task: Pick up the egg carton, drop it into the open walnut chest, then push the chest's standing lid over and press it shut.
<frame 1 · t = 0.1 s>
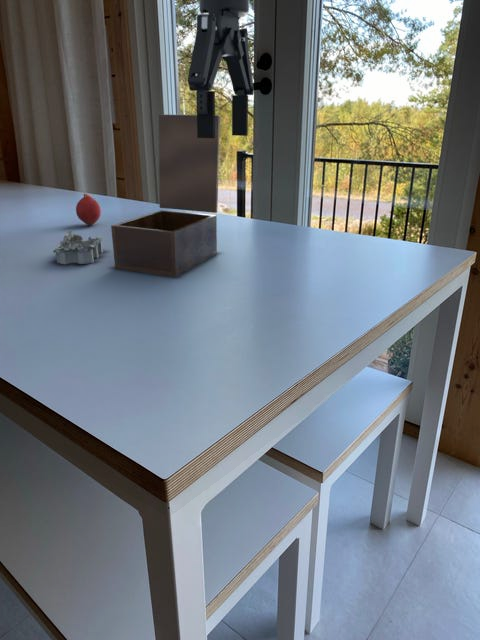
hand: (224, 137, 79), 22 cm above the table, tool pointing down, fingers open, 13 cm apart
egg carton: (81, 258, 92), on the table
chest: (168, 260, 90), on the table
chest lid: (188, 164, 92), point 17 cm above the table, hinge at 95.0°
onion: (90, 226, 118), on the table
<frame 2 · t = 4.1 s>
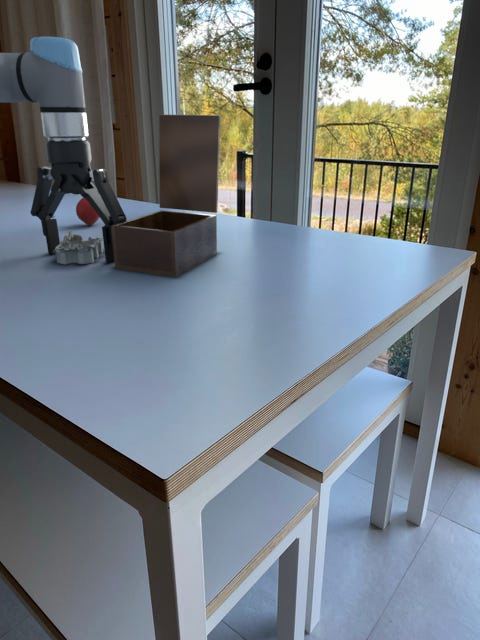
hand: (82, 256, 92), 0 cm above the table, tool pointing down, fingers open, 13 cm apart
chest lid: (188, 164, 92), point 17 cm above the table, hinge at 95.5°
everything else where it was.
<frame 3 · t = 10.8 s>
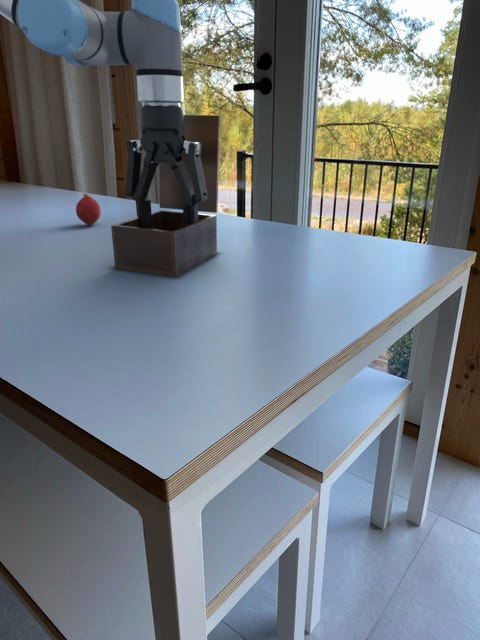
hand: (168, 237, 89), 4 cm above the table, tool pointing down, fingers closed on egg carton, 8 cm apart
egg carton: (169, 258, 90), point 1 cm above the table, touching chest, gripper
everything else where it was.
when the fingers open (6 cm above the table, at t = 14.2 s): egg carton stays where it is, resting on chest.
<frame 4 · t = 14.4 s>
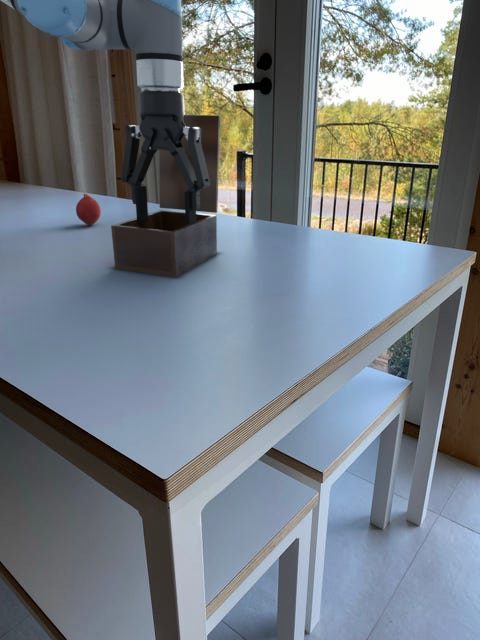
hand: (166, 224, 88), 7 cm above the table, tool pointing down, fingers open, 10 cm apart
egg carton: (168, 258, 90), point 1 cm above the table, touching chest
everything else where it was.
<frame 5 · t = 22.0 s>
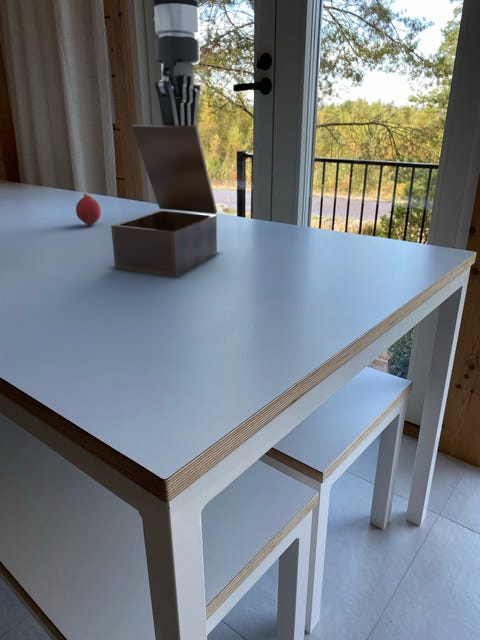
hand: (182, 180, 91), 14 cm above the table, tool pointing down, fingers closed
chest lid: (176, 171, 88), point 16 cm above the table, hinge at 63.0°
everything else where it was.
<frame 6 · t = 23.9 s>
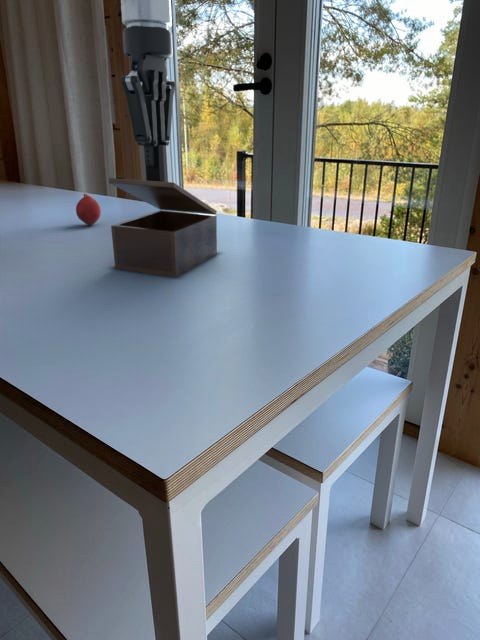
hand: (155, 185, 82), 14 cm above the table, tool pointing down, fingers closed
chest lid: (166, 197, 86), point 12 cm above the table, hinge at 23.8°, touching gripper
everything else where it was.
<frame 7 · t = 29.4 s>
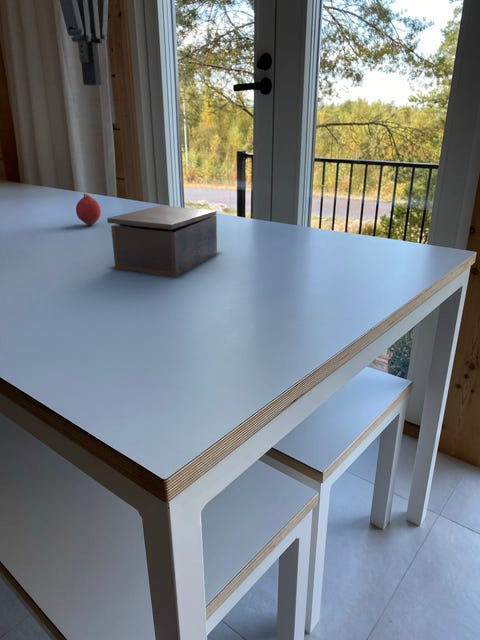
hand: (92, 84, 84), 30 cm above the table, tool pointing down, fingers closed
chest lid: (165, 216, 87), point 9 cm above the table, hinge at 1.9°
everything else where it was.
at the end: egg carton inside the target area in the chest (0.1 cm from its centre), point 0.6 cm above the chest's base; chest lid at +2° (first picture: +95°) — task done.
